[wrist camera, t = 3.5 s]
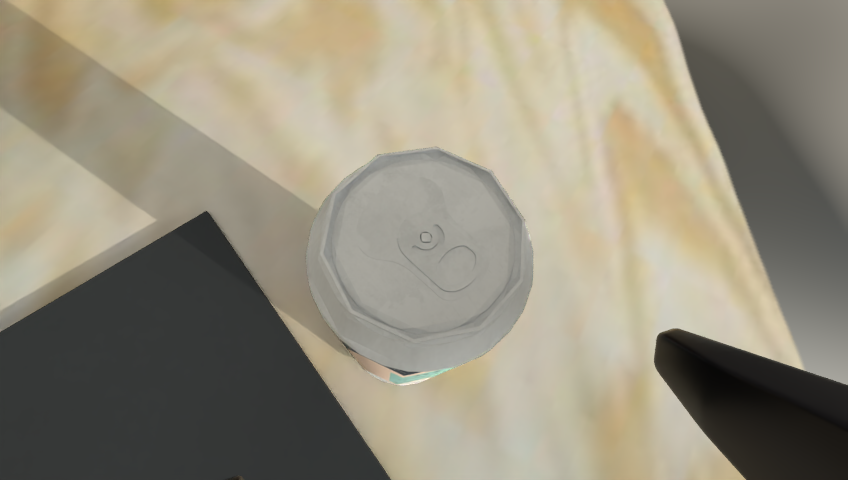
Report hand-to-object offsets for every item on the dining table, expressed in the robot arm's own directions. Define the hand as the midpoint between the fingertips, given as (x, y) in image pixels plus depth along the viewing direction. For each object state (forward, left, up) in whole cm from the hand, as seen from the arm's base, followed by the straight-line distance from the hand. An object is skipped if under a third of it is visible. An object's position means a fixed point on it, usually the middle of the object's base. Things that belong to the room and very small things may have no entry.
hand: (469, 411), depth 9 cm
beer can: (+3, -1, -10) cm, 11 cm away
